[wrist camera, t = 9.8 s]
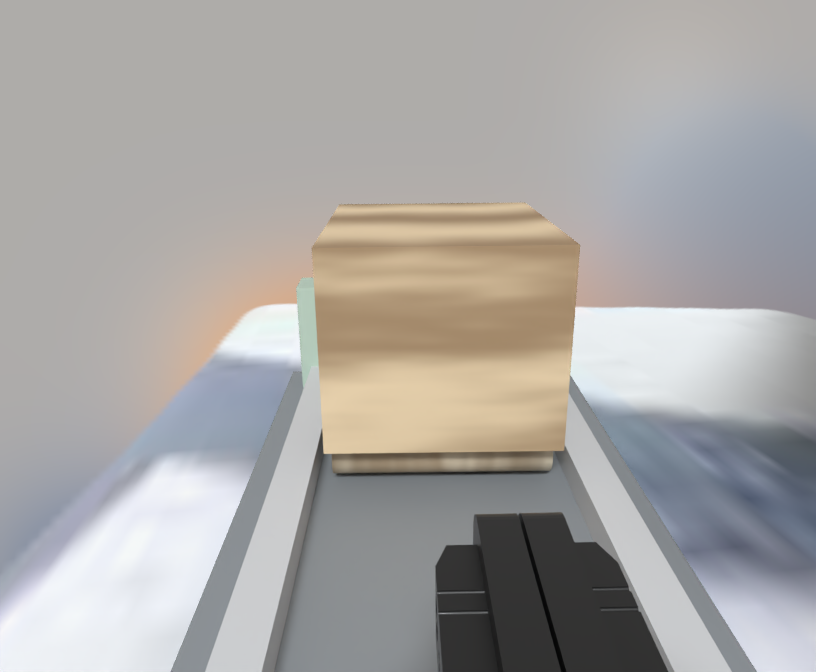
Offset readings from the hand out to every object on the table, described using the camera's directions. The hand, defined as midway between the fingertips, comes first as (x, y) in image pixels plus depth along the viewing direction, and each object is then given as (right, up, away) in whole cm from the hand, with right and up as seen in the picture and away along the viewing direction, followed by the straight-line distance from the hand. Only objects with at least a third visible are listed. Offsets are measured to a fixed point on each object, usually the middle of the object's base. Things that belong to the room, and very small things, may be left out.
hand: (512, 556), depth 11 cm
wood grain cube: (0, -1, +23) cm, 23 cm away
